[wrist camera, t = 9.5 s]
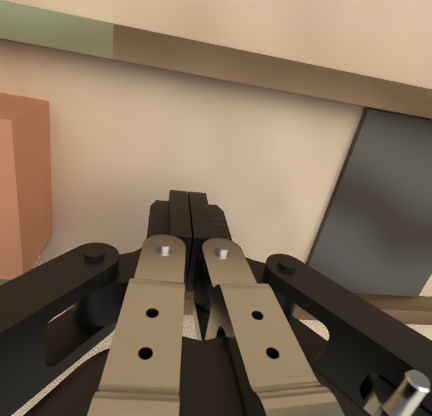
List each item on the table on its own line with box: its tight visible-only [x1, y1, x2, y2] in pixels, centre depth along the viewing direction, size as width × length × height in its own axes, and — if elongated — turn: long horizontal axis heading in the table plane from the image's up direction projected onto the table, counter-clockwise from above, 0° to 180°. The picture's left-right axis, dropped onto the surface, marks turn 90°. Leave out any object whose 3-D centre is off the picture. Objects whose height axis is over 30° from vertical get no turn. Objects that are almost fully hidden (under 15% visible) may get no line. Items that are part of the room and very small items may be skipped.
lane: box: [0, 0, 432, 325], centre depth 16 cm, size 14×49×4 cm, turn 80°
